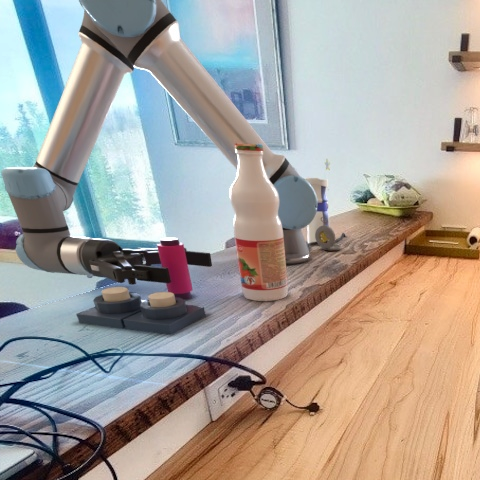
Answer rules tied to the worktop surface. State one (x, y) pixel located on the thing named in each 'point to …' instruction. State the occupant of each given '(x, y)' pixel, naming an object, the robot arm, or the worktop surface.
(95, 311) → the eye block
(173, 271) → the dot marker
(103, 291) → the eye pad
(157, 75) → the robot arm
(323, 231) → the pocket watch
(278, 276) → the fruit juice
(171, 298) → the eye pad
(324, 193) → the water bottle
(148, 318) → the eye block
